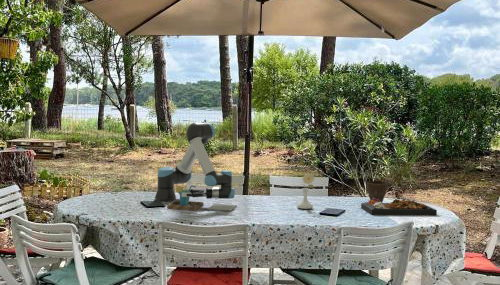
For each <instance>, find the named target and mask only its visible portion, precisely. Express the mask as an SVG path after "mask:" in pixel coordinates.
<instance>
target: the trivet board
mask: <svg viewBox="0 0 500 285" xmlns="http://www.w3.org/2000/svg"><path fill="white" fill-rule="evenodd" d="M236 208H238V205H237V204H223V203H222V204H221V203H214V204H212V205H210V206H209V207H207V208H206V210H207V211H209V212H210V211H212V212H213V211H215V212H230V213H231V212H232V211H233V210H235V209H236Z"/></svg>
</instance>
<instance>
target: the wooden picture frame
mask: <svg viewBox="0 0 500 285" xmlns="http://www.w3.org/2000/svg"><path fill="white" fill-rule="evenodd" d="M203 206H204V202H203V201H195V200H194V201H191V200H189V205H188V206H185V205H180V200H178V199H176V200H175V201H171V202H170V203H168V204H167V209H170V210H171V209H172V210H174V209H175V210H188V211H197V210H199V209H200V208H202V207H203Z"/></svg>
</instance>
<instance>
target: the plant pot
mask: <svg viewBox="0 0 500 285" xmlns="http://www.w3.org/2000/svg"><path fill="white" fill-rule="evenodd" d="M366 187H367V188H366V189H367V193H368V198H369V200H373V198H376V199H379V200H380V202H382V203H384V202H383V201H384V199H385V195H386V192H387V189H388V182H387V181H379V180H371V181H370V180H369V181H366ZM376 201H378V200H376Z"/></svg>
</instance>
